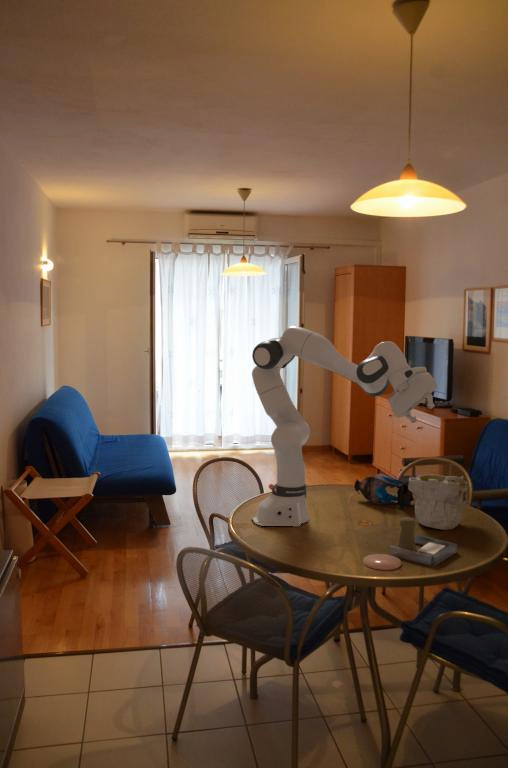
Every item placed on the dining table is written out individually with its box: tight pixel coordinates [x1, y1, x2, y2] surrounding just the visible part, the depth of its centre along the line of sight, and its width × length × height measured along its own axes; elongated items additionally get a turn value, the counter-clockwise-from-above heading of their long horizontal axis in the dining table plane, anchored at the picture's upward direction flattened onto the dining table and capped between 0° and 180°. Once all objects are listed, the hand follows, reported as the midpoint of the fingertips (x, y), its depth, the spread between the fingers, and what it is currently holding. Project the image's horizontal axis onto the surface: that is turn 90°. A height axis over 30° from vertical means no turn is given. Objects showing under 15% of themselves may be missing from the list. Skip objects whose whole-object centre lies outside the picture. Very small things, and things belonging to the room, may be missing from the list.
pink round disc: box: [362, 553, 402, 571], centre depth 211 cm, size 12×12×1 cm
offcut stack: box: [416, 542, 445, 556], centre depth 218 cm, size 6×11×3 cm, turn 143°
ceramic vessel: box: [408, 473, 469, 531], centre depth 252 cm, size 23×24×25 cm
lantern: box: [353, 472, 415, 510], centre depth 279 cm, size 16×16×25 cm
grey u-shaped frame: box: [388, 533, 458, 568], centre depth 220 cm, size 16×17×3 cm
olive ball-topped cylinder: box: [397, 517, 417, 552], centre depth 223 cm, size 6×6×11 cm
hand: (423, 414), depth 222 cm, fingers open, 8 cm apart
